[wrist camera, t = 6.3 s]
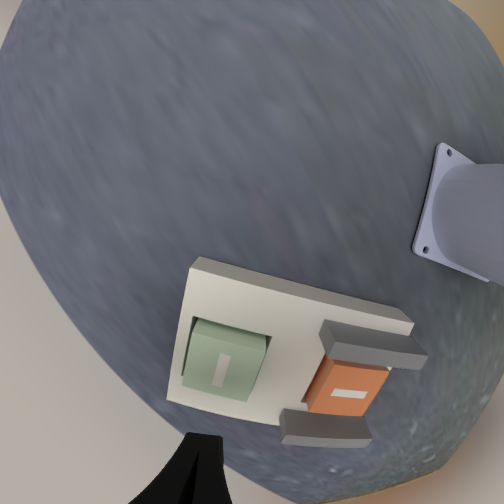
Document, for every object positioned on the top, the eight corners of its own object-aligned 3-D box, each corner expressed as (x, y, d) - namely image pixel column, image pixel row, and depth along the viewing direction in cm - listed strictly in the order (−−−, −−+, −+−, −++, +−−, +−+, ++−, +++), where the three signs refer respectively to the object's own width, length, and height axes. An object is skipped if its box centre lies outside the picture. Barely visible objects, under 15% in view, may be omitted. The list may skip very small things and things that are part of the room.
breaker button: (372, 345, 17) (390, 372, 14) (349, 387, 18) (361, 416, 15) (323, 336, 17) (334, 364, 14) (302, 381, 18) (308, 412, 15)
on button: (265, 323, 17) (266, 351, 14) (248, 370, 18) (246, 402, 15) (203, 306, 17) (191, 332, 14) (192, 356, 18) (181, 386, 15)
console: (400, 308, 17) (436, 342, 12) (345, 411, 19) (359, 454, 15) (199, 256, 17) (176, 282, 12) (175, 378, 19) (156, 423, 14)
